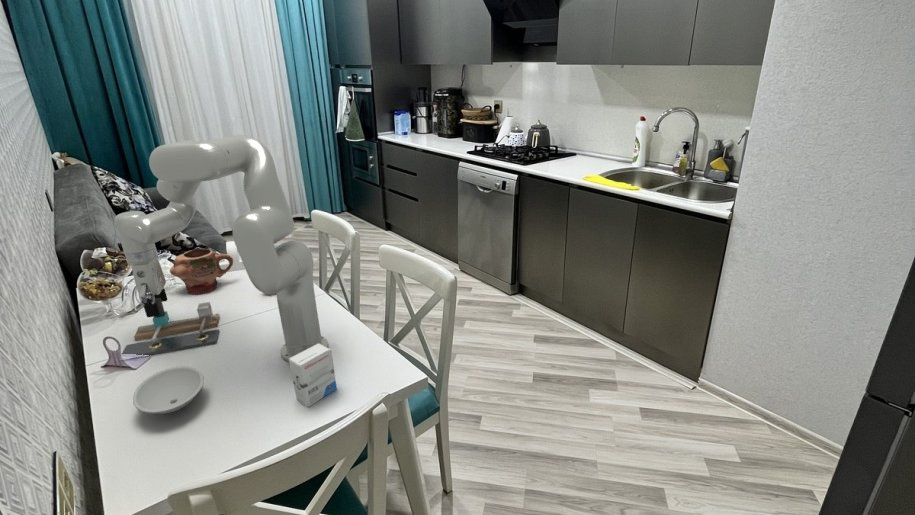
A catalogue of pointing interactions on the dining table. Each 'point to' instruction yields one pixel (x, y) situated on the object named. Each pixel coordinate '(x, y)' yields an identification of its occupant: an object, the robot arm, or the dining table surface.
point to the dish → (168, 390)
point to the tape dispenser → (235, 256)
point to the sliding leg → (160, 318)
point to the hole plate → (173, 343)
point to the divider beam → (182, 324)
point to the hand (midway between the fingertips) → (157, 308)
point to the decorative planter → (199, 269)
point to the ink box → (313, 374)
